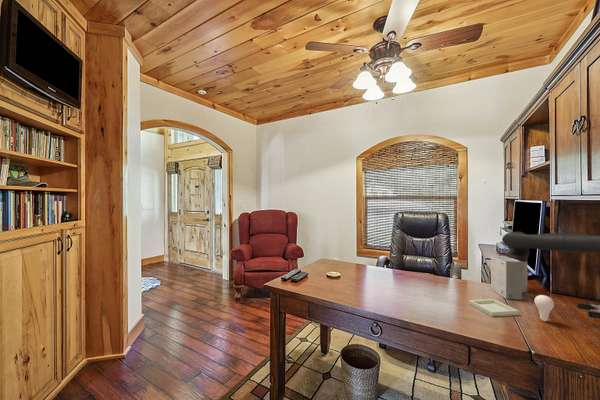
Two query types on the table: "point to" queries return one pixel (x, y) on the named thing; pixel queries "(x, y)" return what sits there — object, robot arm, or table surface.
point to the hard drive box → (506, 277)
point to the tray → (493, 307)
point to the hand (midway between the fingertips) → (582, 309)
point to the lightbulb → (544, 306)
